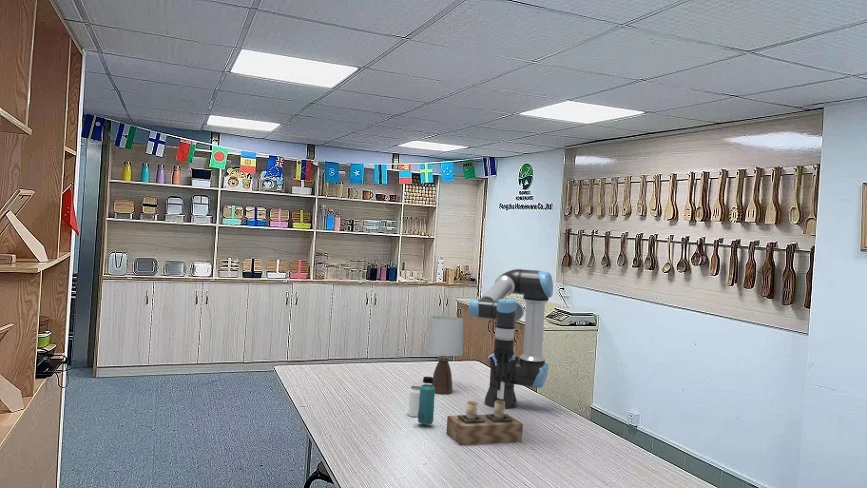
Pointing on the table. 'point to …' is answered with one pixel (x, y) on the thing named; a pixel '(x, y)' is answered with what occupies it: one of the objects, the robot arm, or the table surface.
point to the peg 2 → (499, 409)
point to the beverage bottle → (426, 402)
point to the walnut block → (484, 429)
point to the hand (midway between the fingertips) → (500, 398)
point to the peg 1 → (471, 410)
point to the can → (414, 401)
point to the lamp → (444, 348)
